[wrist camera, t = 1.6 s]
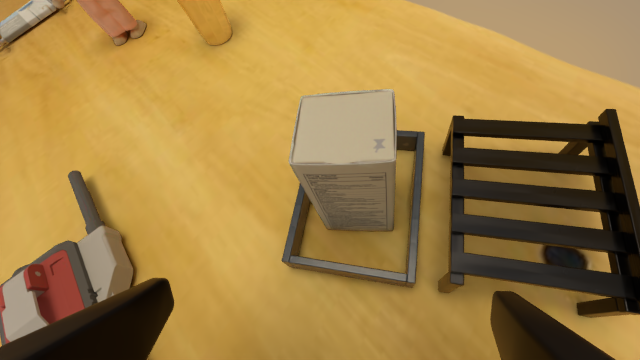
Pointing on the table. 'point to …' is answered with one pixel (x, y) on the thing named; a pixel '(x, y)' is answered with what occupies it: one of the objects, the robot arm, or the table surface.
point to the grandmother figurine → (111, 18)
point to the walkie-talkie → (65, 275)
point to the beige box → (348, 157)
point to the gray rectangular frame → (291, 258)
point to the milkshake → (208, 19)
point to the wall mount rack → (25, 19)
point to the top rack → (609, 199)
